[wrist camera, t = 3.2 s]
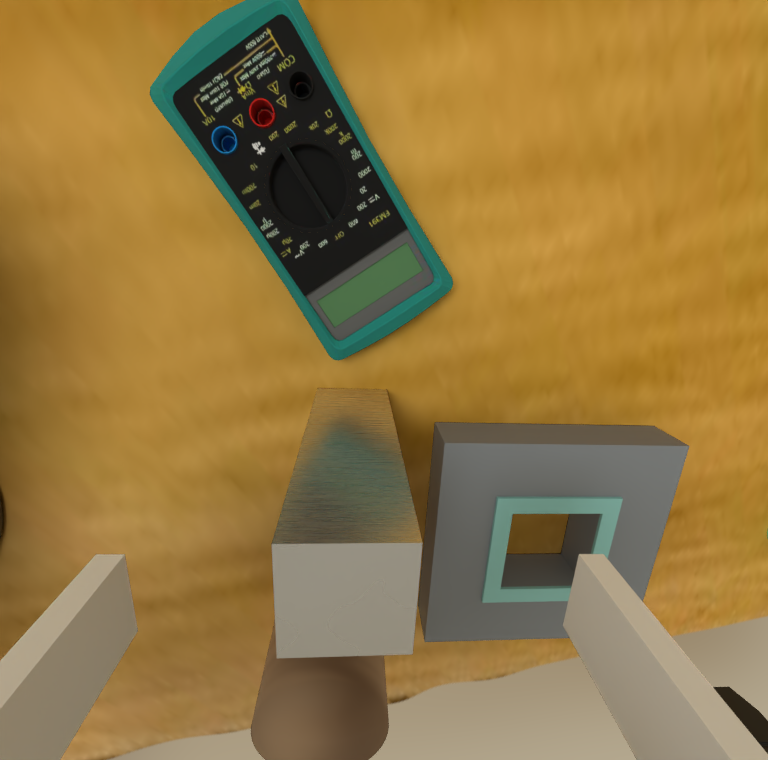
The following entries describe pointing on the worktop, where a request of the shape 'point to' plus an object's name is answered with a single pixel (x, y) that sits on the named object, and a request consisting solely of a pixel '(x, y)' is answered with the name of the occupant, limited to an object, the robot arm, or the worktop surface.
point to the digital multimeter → (301, 172)
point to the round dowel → (320, 707)
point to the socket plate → (537, 496)
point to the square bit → (347, 535)
